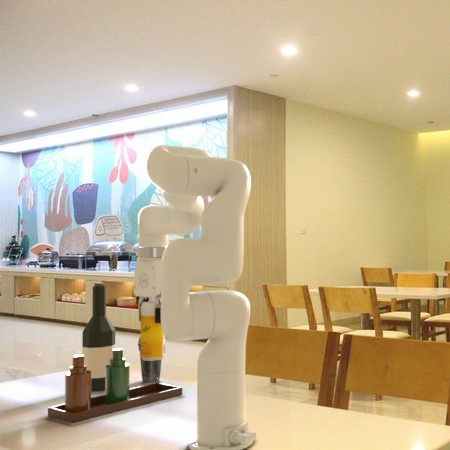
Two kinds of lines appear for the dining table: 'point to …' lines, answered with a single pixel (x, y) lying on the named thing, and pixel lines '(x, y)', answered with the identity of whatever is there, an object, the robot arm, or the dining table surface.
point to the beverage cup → (150, 369)
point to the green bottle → (117, 378)
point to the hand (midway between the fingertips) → (153, 321)
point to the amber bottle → (78, 386)
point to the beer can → (151, 334)
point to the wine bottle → (98, 339)
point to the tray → (136, 398)
